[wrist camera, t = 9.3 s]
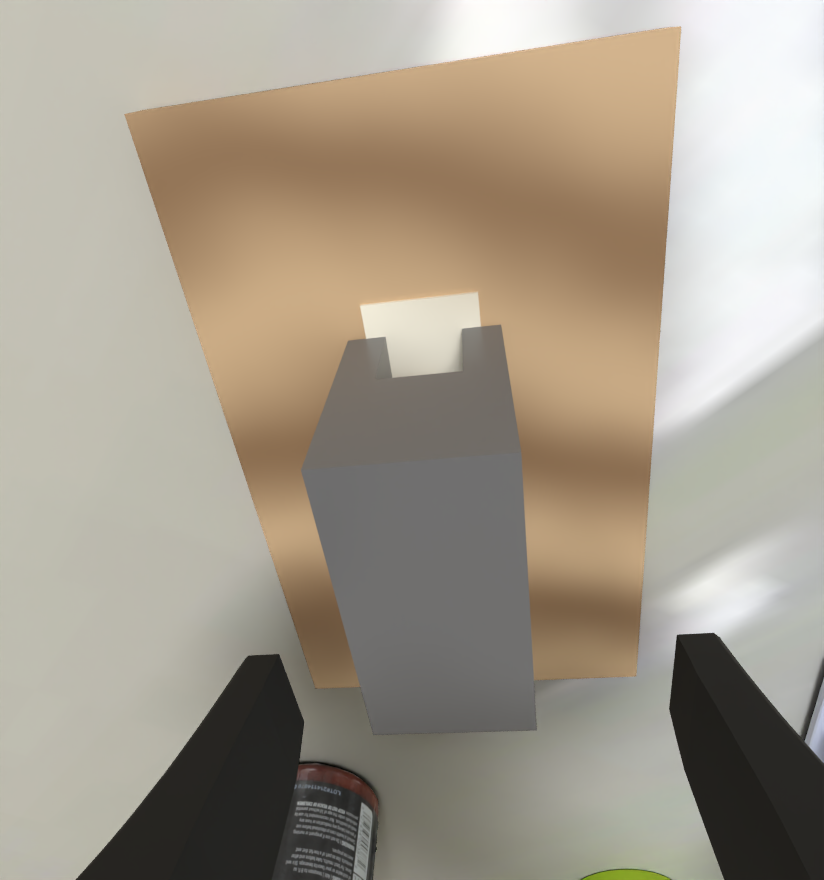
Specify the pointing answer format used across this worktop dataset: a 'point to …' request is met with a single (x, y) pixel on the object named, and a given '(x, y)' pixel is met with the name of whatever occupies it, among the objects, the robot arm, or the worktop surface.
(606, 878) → the soap dispenser
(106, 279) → the worktop surface
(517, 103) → the pin board
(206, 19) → the worktop surface
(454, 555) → the block
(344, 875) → the supplement bottle
